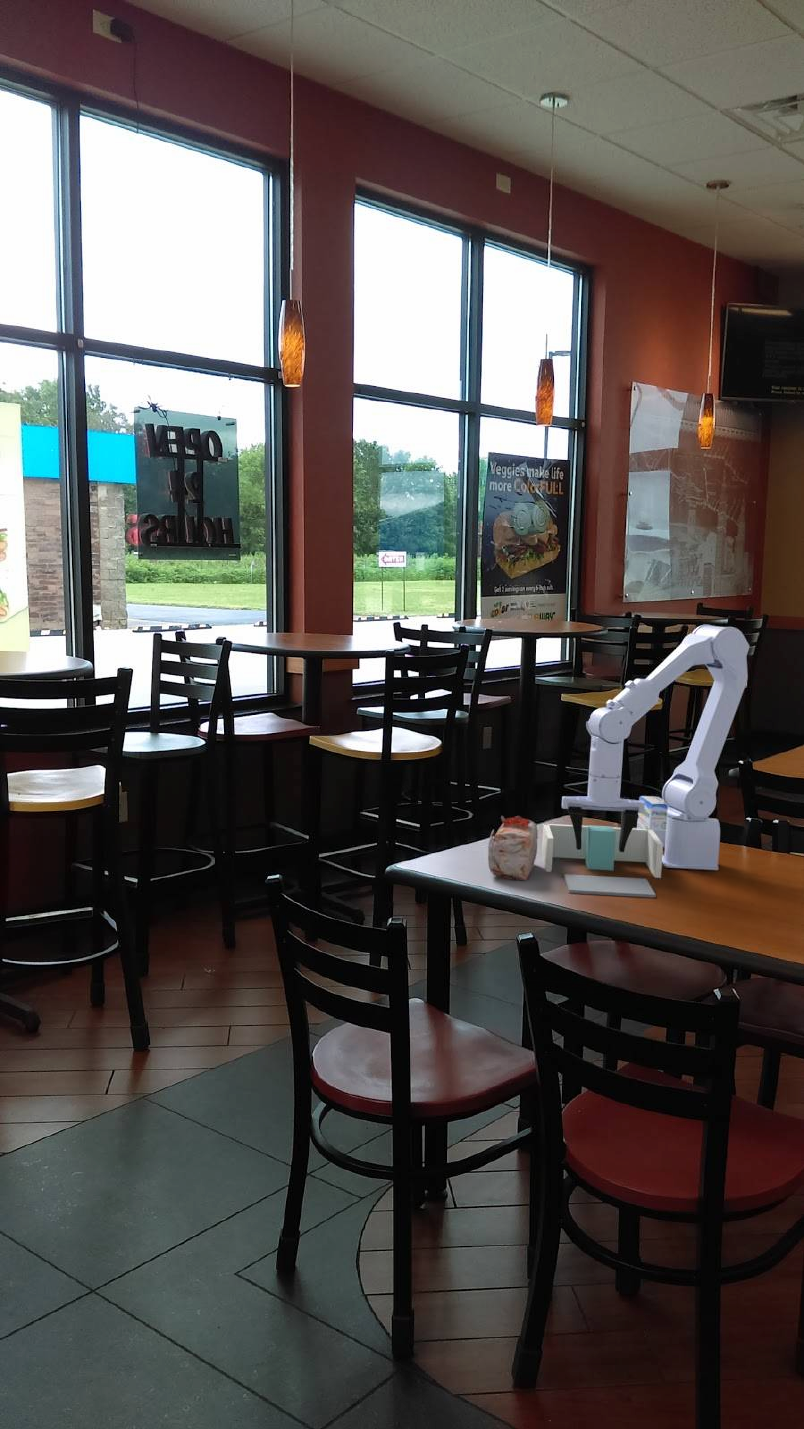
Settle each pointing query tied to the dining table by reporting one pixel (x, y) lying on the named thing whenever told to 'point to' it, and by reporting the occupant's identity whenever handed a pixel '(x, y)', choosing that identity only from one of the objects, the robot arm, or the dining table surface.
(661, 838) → the medicine box
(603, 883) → the slate mat
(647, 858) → the open folding screen
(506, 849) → the food item
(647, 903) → the dining table surface
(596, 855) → the teal block
